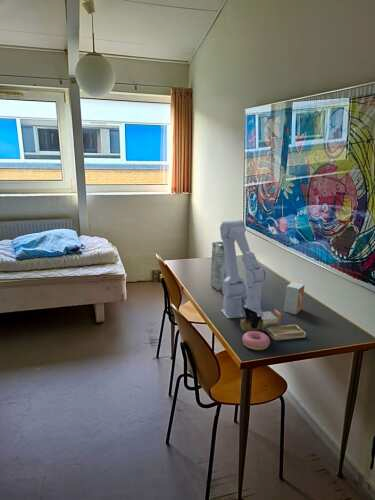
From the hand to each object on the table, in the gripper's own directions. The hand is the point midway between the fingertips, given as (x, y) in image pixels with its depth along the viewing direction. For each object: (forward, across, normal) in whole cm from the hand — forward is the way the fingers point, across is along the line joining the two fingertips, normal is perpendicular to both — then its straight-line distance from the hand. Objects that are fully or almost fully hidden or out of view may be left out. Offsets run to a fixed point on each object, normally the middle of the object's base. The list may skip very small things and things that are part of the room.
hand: (251, 325), depth 158 cm
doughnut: (+2, +13, -4) cm, 14 cm away
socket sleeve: (+1, 0, +7) cm, 7 cm away
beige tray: (+1, +8, +12) cm, 15 cm away
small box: (+2, -14, +28) cm, 31 cm away
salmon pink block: (+1, 0, +8) cm, 8 cm away
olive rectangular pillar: (+2, 0, 0) cm, 2 cm away
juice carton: (+2, -50, +3) cm, 50 cm away
